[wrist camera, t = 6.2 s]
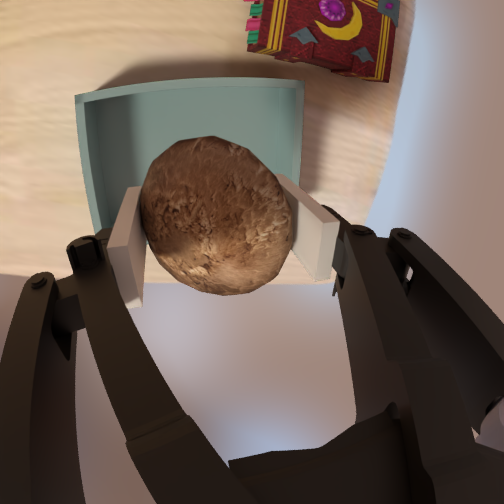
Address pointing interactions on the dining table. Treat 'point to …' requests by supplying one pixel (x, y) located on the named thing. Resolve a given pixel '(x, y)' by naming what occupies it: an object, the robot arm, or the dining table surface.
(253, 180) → the mushroom
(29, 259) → the dining table surface
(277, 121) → the open rectangular box
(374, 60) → the decorative book
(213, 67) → the dining table surface
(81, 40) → the dining table surface
